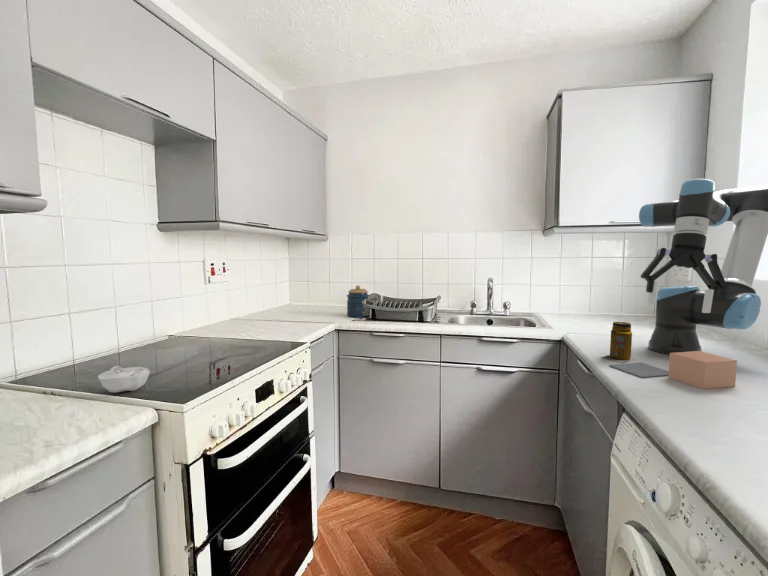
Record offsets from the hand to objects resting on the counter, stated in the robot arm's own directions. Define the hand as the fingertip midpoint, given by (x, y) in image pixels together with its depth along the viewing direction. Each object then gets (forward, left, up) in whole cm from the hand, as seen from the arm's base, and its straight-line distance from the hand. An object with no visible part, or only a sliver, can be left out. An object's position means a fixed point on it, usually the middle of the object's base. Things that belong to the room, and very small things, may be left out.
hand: (677, 308), depth 109 cm
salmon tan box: (-2, +6, -19) cm, 20 cm away
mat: (+5, -6, -19) cm, 21 cm away
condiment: (+1, -19, -20) cm, 27 cm away
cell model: (+150, -22, -20) cm, 153 cm away
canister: (+73, -129, -20) cm, 150 cm away
